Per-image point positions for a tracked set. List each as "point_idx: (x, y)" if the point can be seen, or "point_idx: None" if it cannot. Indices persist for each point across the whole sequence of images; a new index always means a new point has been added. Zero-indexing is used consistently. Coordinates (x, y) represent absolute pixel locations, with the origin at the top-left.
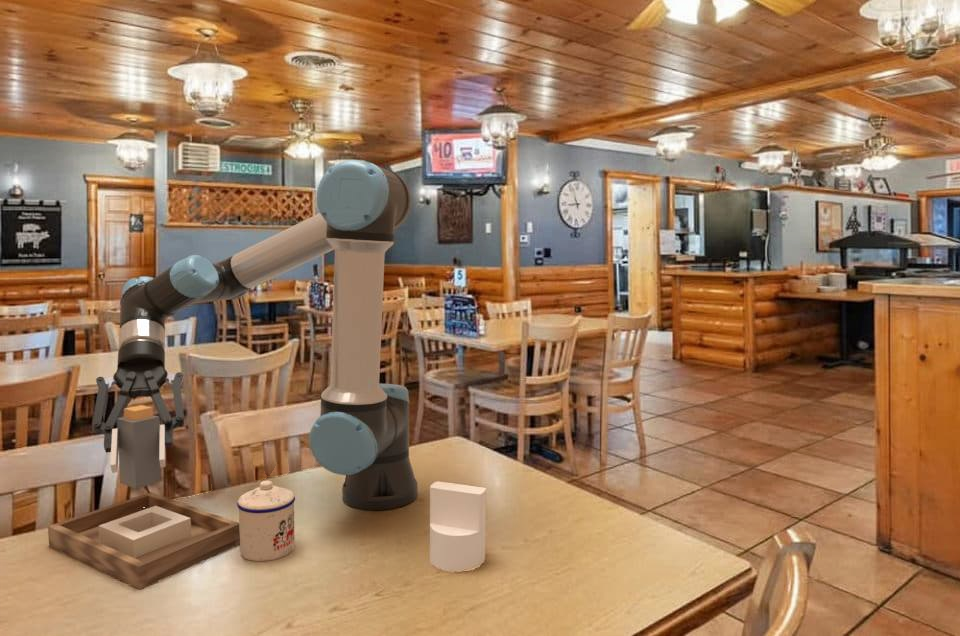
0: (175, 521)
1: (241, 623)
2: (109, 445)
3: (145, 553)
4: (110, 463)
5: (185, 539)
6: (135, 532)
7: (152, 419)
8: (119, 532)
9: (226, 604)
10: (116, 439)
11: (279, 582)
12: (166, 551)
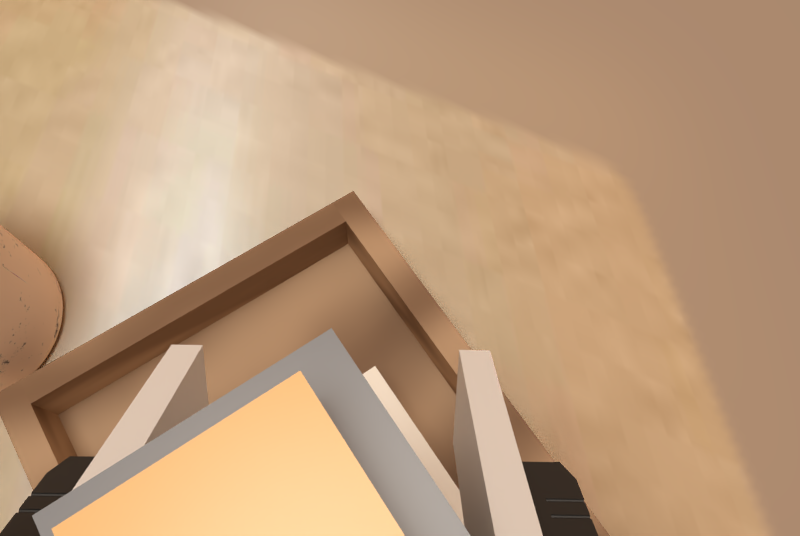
0: None
1: (156, 9)
2: (533, 478)
3: None
4: (490, 353)
5: None
6: None
7: (127, 458)
8: (429, 463)
9: (167, 84)
10: (486, 471)
11: (24, 128)
12: (273, 260)
